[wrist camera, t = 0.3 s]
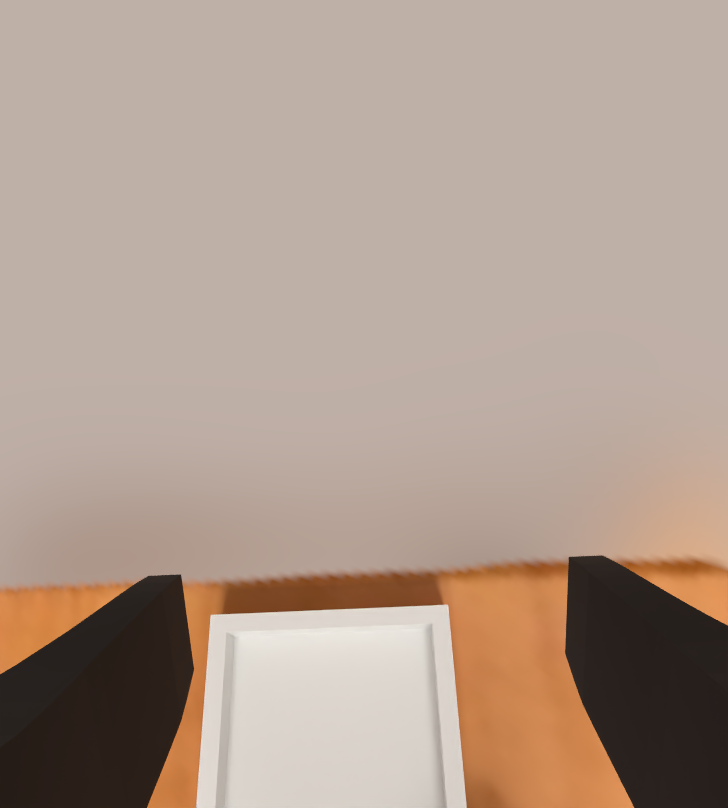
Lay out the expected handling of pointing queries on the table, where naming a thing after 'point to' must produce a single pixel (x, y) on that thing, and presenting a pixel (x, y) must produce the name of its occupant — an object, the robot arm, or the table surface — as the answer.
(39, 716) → the robot arm
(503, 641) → the table surface
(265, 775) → the white tray
